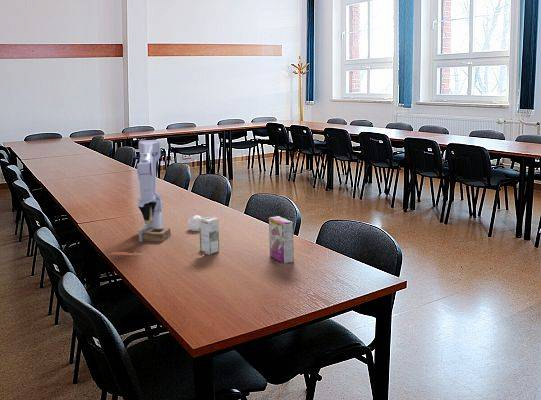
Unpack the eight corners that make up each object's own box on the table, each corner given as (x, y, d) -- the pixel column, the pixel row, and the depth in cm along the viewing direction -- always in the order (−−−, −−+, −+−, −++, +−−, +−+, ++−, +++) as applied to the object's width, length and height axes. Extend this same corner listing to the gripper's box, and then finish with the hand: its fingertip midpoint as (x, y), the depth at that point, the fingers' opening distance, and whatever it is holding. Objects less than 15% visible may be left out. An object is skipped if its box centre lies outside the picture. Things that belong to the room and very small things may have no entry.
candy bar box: (269, 256, 223) (268, 217, 220) (279, 254, 226) (278, 215, 222) (283, 264, 214) (282, 223, 210) (294, 262, 216) (293, 221, 213)
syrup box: (209, 249, 235) (208, 216, 232) (220, 251, 231) (218, 218, 228) (200, 252, 231) (198, 218, 227) (210, 255, 227) (208, 220, 224)
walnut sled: (151, 234, 255) (151, 227, 254) (170, 235, 253) (170, 228, 252) (143, 241, 245) (142, 233, 244) (162, 241, 244) (162, 233, 243)
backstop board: (147, 236, 256) (146, 224, 255) (190, 237, 252) (189, 225, 251) (137, 243, 245) (136, 230, 244) (182, 245, 242) (181, 231, 240)
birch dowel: (146, 221, 250) (145, 206, 248) (154, 222, 249) (153, 206, 248) (143, 223, 246) (142, 208, 245) (151, 224, 246) (149, 208, 244)
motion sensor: (186, 233, 259) (185, 217, 258) (191, 229, 267) (190, 213, 265) (202, 234, 258) (202, 218, 256) (207, 229, 265) (206, 214, 264)
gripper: (144, 185, 252) (146, 215, 255) (130, 192, 238) (133, 223, 241) (159, 186, 251) (161, 215, 254) (146, 192, 237) (148, 223, 240)
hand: (148, 219), depth 247 cm, fingers closed on birch dowel, 4 cm apart
